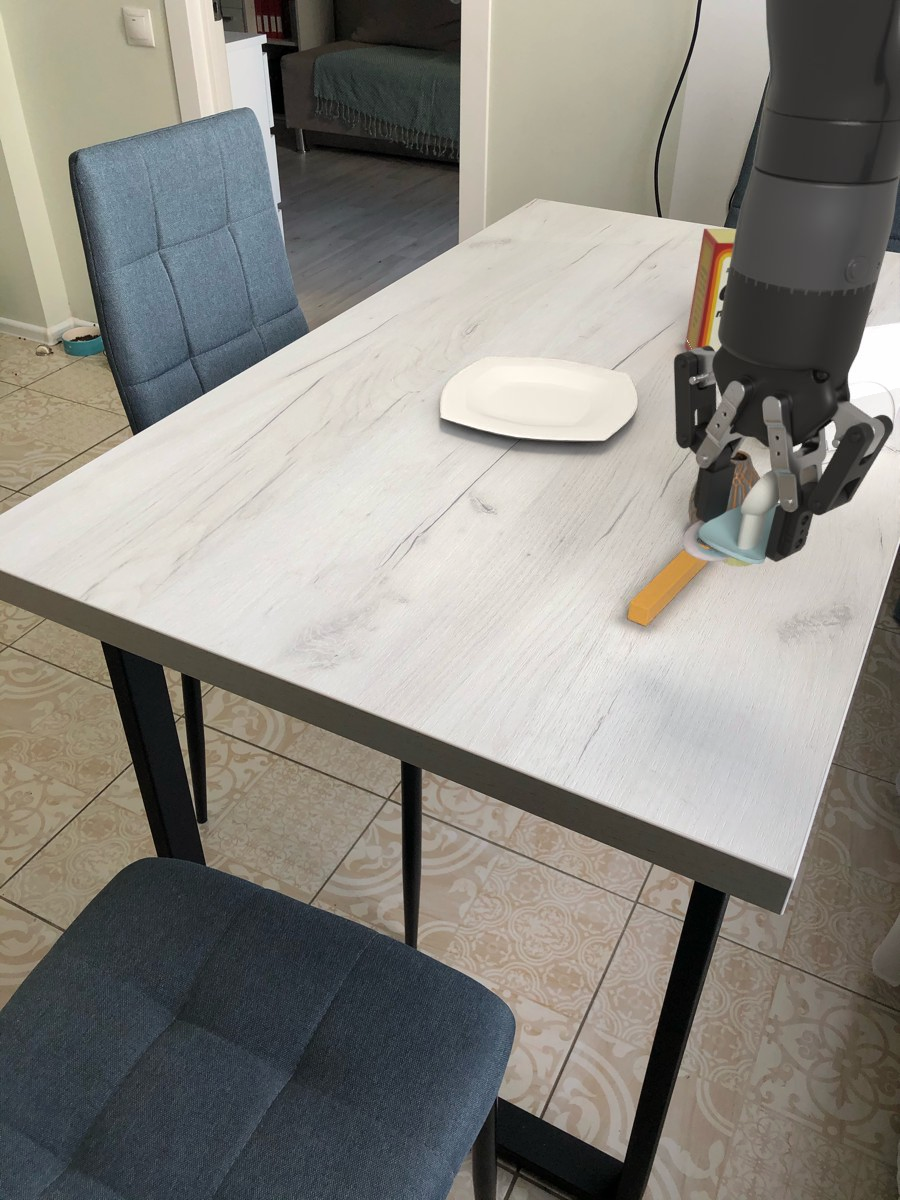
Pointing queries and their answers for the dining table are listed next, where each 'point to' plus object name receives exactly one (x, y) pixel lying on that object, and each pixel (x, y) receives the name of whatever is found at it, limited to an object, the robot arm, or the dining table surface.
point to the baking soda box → (710, 288)
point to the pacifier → (738, 528)
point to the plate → (539, 399)
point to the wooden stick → (664, 587)
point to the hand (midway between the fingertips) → (743, 534)
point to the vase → (733, 484)
